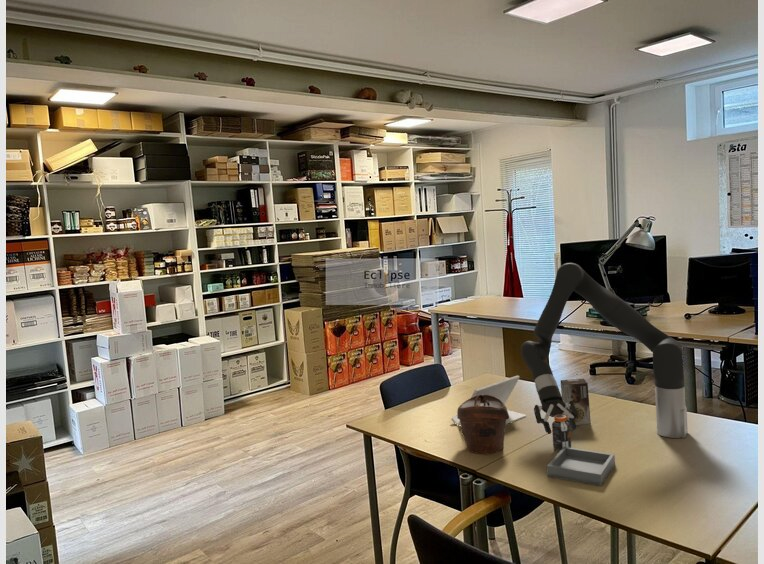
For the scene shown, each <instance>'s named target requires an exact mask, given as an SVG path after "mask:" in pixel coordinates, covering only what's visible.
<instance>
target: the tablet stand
mask: <svg viewBox="0 0 764 564" xmlns="http://www.w3.org/2000/svg"><path fill="white" fill-rule="evenodd" d="M519 380H520V375H515V376H511V377H509V378H505V379H502V380H499V381H496V382H494V383H491V384H488V385H485V386H482V387H479V388H476V389H474V391H473V393H472V395H471V397H470V398H472V397H475V396H478V395H491V396H495V397H497V398H499V399H500V400H501V401H502V402H503V403H504V405H505V406H506V403H507V401H508V399H509V398H510V396H511V394H512V392H513V390H514V388H515V387H516V385H517V383H518V381H519ZM507 411H508V414H509V418H508V419H506V424H507V425H509V424H508V423H510V424H512V423H514V421H515V422H517V421H519V419H520V420H522V419H524V417H525V418H526V417H527V415H526V414H524V413H519V412H516V411H512V410H509V409H507ZM521 418H522V419H521ZM450 420H451V421H452V422H453V423H454V424H455V423H456V424H458V425H461V423H460V419H458V418H457V415H454V416H452V417H451V419H450ZM516 420H517V421H516ZM511 422H512V423H511Z"/></svg>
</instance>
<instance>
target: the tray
mask: <svg viewBox="0 0 764 564" xmlns="http://www.w3.org/2000/svg"><path fill="white" fill-rule="evenodd" d="M615 457H616V456H615V454H614V453H610V452H603V451H595V450H588V449H582V448H575V447H571V448H569V447H563V448H562V449H561V450H560V451H559V452H557V454H556V455H555V456H554V457H553V458H552V460H550V462H549V463H548V464H547V465H546V469H547V472H546V473H547V477H550V478H554V479H555V478H556V479H561V480H566V481H570V480H571V482H577V483H583V484H588V485H592V484H593V486H599V487H602V486H603V485H604V483H605V481H606V479H608V476H609V475H610V474H611V472H612V470H613V469H614V468H615V465H616V458H615Z"/></svg>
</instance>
